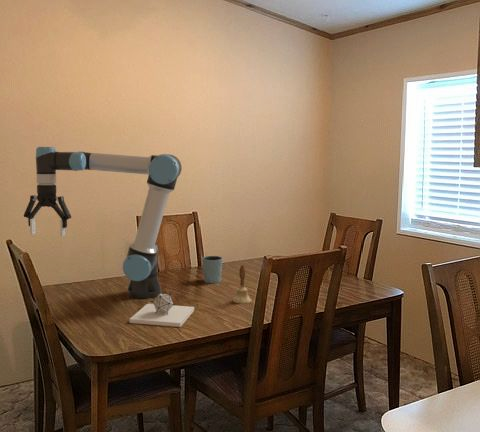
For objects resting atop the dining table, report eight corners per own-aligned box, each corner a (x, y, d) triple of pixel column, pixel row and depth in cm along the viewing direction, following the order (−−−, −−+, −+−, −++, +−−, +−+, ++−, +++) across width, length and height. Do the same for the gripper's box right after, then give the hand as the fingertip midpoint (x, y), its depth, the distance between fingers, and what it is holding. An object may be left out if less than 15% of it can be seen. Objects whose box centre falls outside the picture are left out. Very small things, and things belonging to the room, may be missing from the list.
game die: (167, 320, 202) (183, 300, 202) (158, 319, 194) (174, 298, 194) (152, 306, 205) (167, 287, 205) (142, 305, 197) (158, 284, 197)
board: (194, 310, 209) (194, 306, 208) (180, 327, 189) (180, 323, 189) (147, 306, 212) (147, 303, 212) (129, 322, 192) (129, 319, 192)
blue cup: (226, 280, 257) (226, 257, 255) (214, 284, 248) (215, 260, 247) (209, 277, 262) (210, 254, 260) (198, 281, 254) (198, 258, 252)
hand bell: (245, 304, 218) (246, 268, 216) (229, 301, 222) (229, 265, 220) (255, 300, 225) (255, 264, 223) (239, 297, 229) (239, 262, 227)
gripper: (78, 184, 212) (79, 234, 215) (24, 182, 216) (25, 231, 219) (70, 185, 205) (71, 237, 207) (13, 183, 209) (15, 234, 212)
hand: (47, 234), depth 213 cm, fingers open, 13 cm apart
